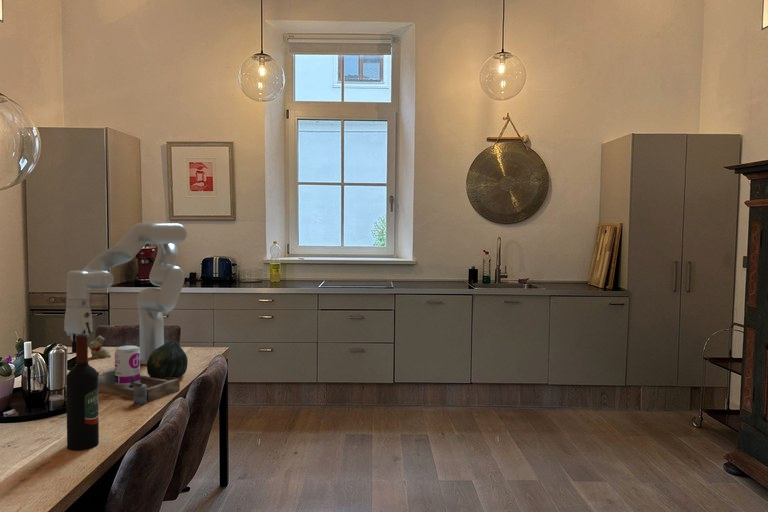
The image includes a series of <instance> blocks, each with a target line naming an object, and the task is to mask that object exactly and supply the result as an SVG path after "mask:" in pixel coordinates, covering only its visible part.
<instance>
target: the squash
mask: <svg viewBox="0 0 768 512" xmlns="http://www.w3.org/2000/svg"><path fill="white" fill-rule="evenodd" d="M187 356H188V355H187V354H186V353H185V351H184V349H183V348H182V347H181V346H180V344H179V343H178V341H177V340H172V341H169V342H166V343H164V345H162V346H160V347H159V348H157V349H155V350H154V351H153V352H152V353H151V354H150V356H149V359H148V361H147V365H146V371H147V374H148V377H153V378H158V379H164V380H165V379H171V378H173V379H179V378H181V377H182V376H185V374H186V373H187V369H188V363H189V362H188V361H189V360H188V357H187Z"/></svg>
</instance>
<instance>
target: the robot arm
mask: <svg viewBox="0 0 768 512" xmlns="http://www.w3.org/2000/svg"><path fill="white" fill-rule="evenodd" d="M187 234H188V232H187V229H186V227H185V226H184V225H183V224H181V223H175V222H174V223H172V222H159V223H155V222H154V223H153V222H137V223H136V224H133V226H131V228H130V229H129V230H128V231H127V232H126V233H124V235H123V236H122V237H121V238H120V239H119V240H118V241H117V242H116V243H115V244H114V245H113V246H111V247H110V248H108V249H106V250H105V251H104V252H101V253H100V254H98V255H97V256H95V257H94V258H92V259H91V261H89V262H88V263H87V265H85V266H84V267H83V269H82V270H81V269H80V270H70V271H68V272H67V274H66V307H65V313H64V320H63V321H64V323H63V324H64V326H63V327H64V332H65V333H66V336H68V337H69V338H70V341H71V352H72V353H74V354H76V336H77V335H88V338H89V337H90V335H89V334H92V332H93V315H92V308H91V307H90V296H91V295H90V294H91V293H90V291H91V290H106V289H109V288H110V287H112V285H113V284H114V281H115V280H114V276H113V274H112V273H111V272H110V271H109V270H111V269H112V268H114V267H116V266H120V265H122V264H126V263H128V262H130V261H131V260H133V259H134V258H135V256H136V255H137V254H139V253H140V251H141V250H142V249H143V248H144V247H145V246H146V245H148V244H151V245H156V246H157V252H156V253H157V254H156V257H155V259H154V262H153V265H152V266H151V270H150V272H149V277H148V279H149V282H150V283H151V284H152V285H154V286H157V287H160V288H155V287H146V288H144V289H142V290H140V292H139V293H138V294H137V298H136V304H137V305H136V306H137V308H138V315H139V317H138V318H139V350H140V364H145V365H144V366H147V361H148V359H149V356H150V354H151V353H152V352H153V351H154V350H155V349H157V348H159V347H160V346H162V345H164V344H165V338H164V337H165V335H164V334H165V331H164V327H165V324H164V323H165V321H164V320H165V319H164V316H163V313H169V312H171V311H172V310H173V309H175V307H176V305H177V303H178V300H179V298H180V295H181V292H182V289H183V286H184V283H185V276H186V275H185V272H184V270H183V269H182V268H181V267H179V266H178V265H177V260H178V258H179V250H178V246H177V244H181V243H183V242H184V241H185V240H186V238H187V236H188V235H187Z"/></svg>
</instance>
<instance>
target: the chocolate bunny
mask: <svg viewBox="0 0 768 512" xmlns="http://www.w3.org/2000/svg"><path fill="white" fill-rule="evenodd" d="M104 342H105V338H104V337H103V336H101V335H98V336H97V337H96V338H95V339H94V340H93V341H90V343H89V344H88V348H89V350H91V351H90V354H91V358H92V359H95V358H100V359H107V358H106V357H109V358H111V357H112V355H111V354H110V353H111V352H109V349H107V348H105V347H103V343H104Z"/></svg>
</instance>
